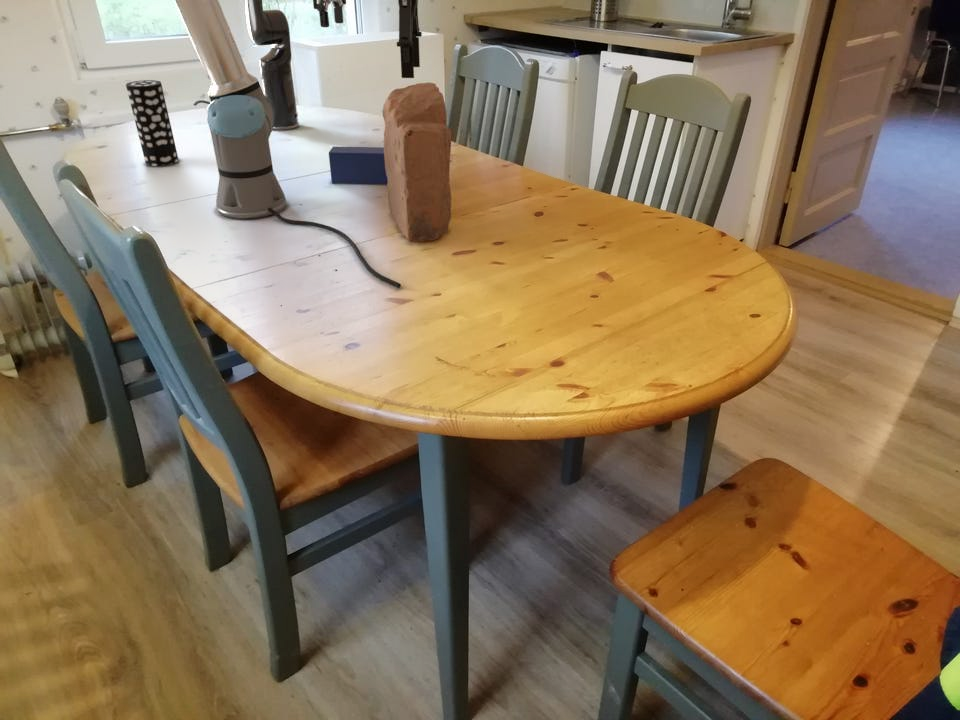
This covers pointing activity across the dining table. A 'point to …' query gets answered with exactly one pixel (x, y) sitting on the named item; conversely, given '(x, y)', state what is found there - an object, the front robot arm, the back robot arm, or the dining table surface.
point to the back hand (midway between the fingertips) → (332, 25)
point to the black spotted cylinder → (152, 122)
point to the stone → (418, 161)
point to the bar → (357, 165)
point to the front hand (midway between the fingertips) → (411, 72)
